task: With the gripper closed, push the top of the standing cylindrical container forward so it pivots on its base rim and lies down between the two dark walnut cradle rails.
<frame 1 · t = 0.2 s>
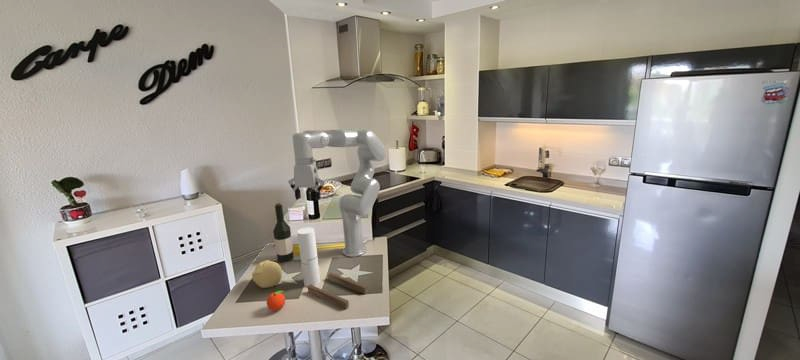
hand: (308, 199, 146), 37 cm above the table, tool pointing down, fingers open, 9 cm apart
cradle rails: (337, 292, 139), on the table
clementine: (278, 308, 131), on the table
cylindrical container: (312, 282, 148), on the table
wine bottle: (286, 259, 170), on the table
pale yellow lumpy blob: (269, 284, 148), on the table
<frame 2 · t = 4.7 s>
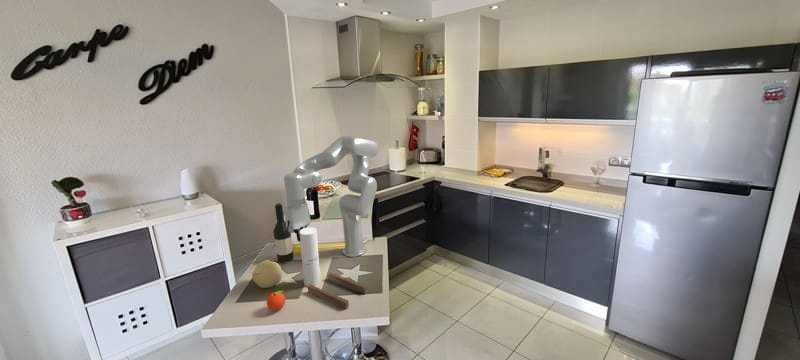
hand: (301, 241, 145), 19 cm above the table, tool pointing down, fingers closed
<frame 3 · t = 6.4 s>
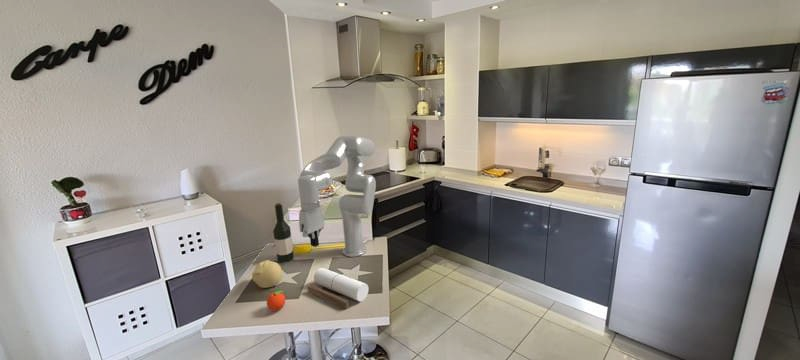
hand: (315, 245, 140), 19 cm above the table, tool pointing down, fingers closed
cylindrical container: (319, 275, 146), point 4 cm above the table
everything else where it was.
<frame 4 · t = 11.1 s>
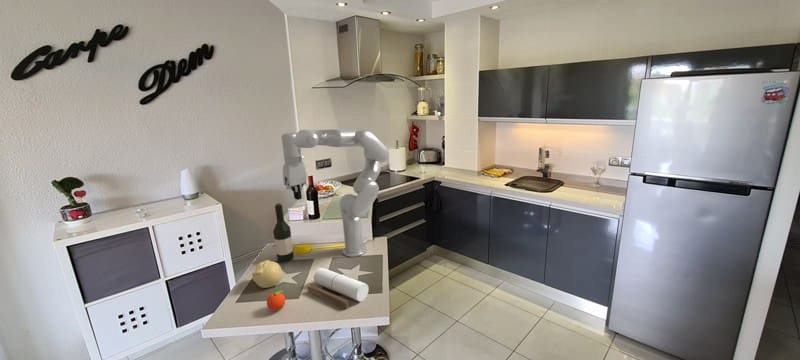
hand: (298, 198, 153), 35 cm above the table, tool pointing down, fingers closed
nothing on the table moved.
at the end: cylindrical container tilted 90°; cylindrical container inside the target area (1.7 cm from its centre), point 3.6 cm above the table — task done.
